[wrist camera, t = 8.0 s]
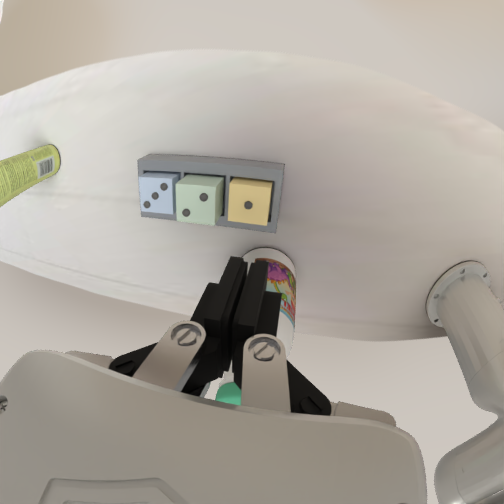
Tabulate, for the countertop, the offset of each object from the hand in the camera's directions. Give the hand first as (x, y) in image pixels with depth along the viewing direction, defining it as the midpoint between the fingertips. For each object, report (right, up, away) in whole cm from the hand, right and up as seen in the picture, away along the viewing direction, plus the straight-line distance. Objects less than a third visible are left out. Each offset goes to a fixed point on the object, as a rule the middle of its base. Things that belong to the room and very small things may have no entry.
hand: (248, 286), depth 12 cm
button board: (-4, +9, +19) cm, 22 cm away
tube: (-30, +16, +19) cm, 39 cm away
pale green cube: (-5, +8, +17) cm, 19 cm away
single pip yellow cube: (0, +8, +18) cm, 19 cm away
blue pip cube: (-10, +9, +18) cm, 23 cm away
